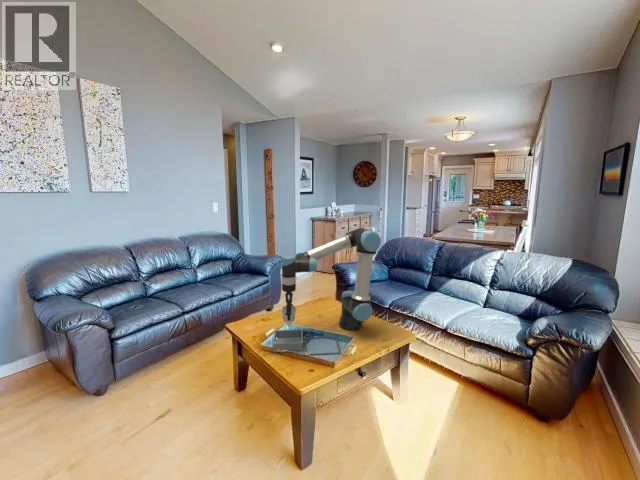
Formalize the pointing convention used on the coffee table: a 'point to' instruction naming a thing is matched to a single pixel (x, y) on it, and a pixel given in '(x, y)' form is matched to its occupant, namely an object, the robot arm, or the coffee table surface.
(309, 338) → the square tray frame
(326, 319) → the coffee table surface
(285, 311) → the cup
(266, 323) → the coffee table surface
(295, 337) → the bin
